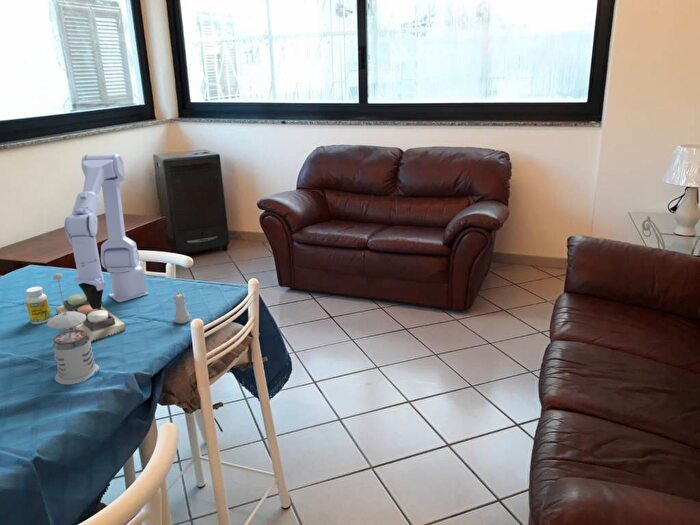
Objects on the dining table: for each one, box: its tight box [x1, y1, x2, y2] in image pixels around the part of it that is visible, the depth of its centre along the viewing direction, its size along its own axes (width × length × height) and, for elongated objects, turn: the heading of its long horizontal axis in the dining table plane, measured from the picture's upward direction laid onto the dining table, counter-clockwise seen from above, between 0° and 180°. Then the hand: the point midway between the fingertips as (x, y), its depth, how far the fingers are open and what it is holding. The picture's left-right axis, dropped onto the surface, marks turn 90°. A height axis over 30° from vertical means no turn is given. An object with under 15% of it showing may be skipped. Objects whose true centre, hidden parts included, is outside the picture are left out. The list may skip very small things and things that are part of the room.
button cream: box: [87, 310, 109, 324], centre depth 154 cm, size 5×5×2 cm
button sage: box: [66, 293, 87, 307], centre depth 165 cm, size 5×5×2 cm
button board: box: [55, 299, 126, 343], centre depth 161 cm, size 10×25×4 cm, turn 43°
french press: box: [46, 272, 100, 385], centre depth 131 cm, size 10×12×25 cm
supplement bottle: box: [25, 286, 52, 325], centre depth 161 cm, size 5×5×10 cm
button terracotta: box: [77, 304, 98, 314], centre depth 160 cm, size 5×5×2 cm
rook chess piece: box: [173, 292, 191, 325], centre depth 159 cm, size 4×4×8 cm
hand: (96, 307), depth 153 cm, fingers closed
